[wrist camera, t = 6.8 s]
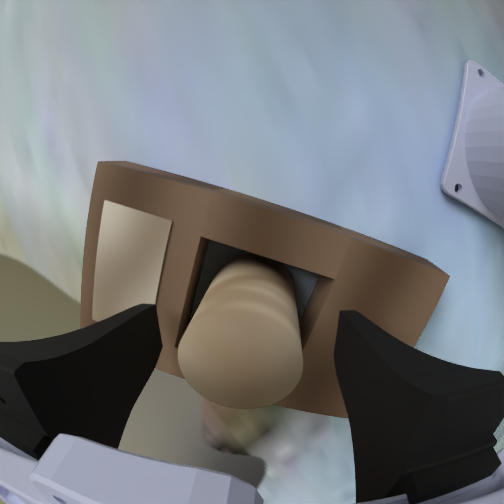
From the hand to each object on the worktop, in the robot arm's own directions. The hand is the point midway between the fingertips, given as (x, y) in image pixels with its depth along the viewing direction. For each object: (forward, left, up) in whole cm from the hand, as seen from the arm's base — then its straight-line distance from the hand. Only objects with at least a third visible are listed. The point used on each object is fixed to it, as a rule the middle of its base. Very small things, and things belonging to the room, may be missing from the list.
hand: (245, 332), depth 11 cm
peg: (0, 0, -4) cm, 4 cm away
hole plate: (0, 0, -4) cm, 4 cm away
